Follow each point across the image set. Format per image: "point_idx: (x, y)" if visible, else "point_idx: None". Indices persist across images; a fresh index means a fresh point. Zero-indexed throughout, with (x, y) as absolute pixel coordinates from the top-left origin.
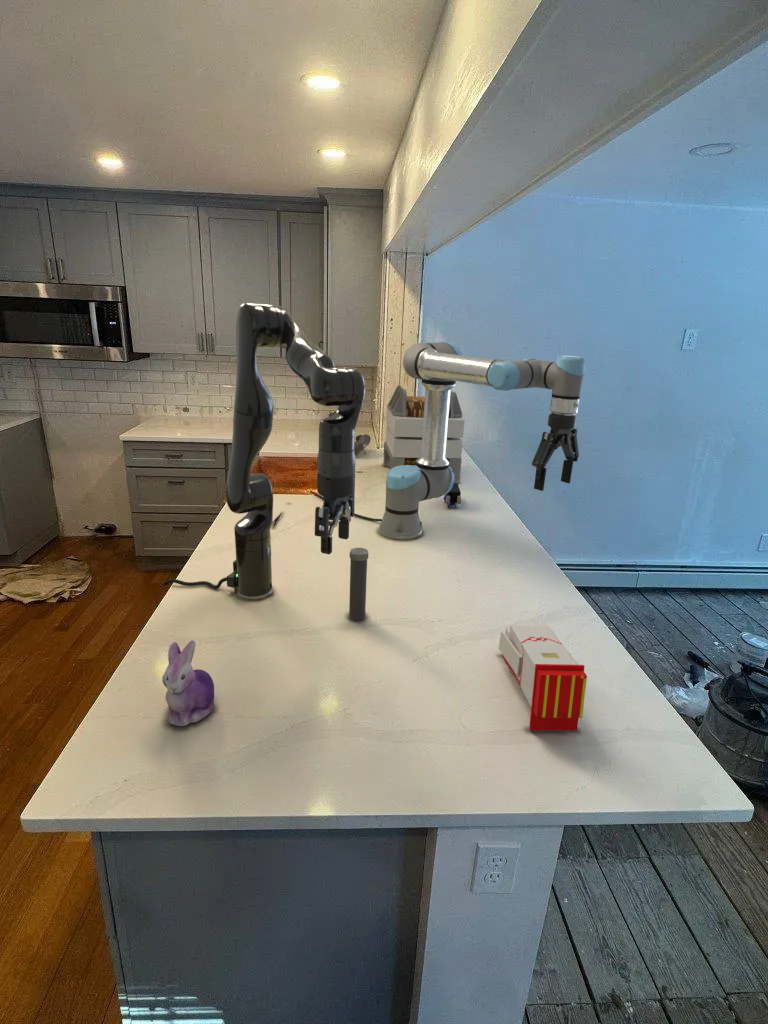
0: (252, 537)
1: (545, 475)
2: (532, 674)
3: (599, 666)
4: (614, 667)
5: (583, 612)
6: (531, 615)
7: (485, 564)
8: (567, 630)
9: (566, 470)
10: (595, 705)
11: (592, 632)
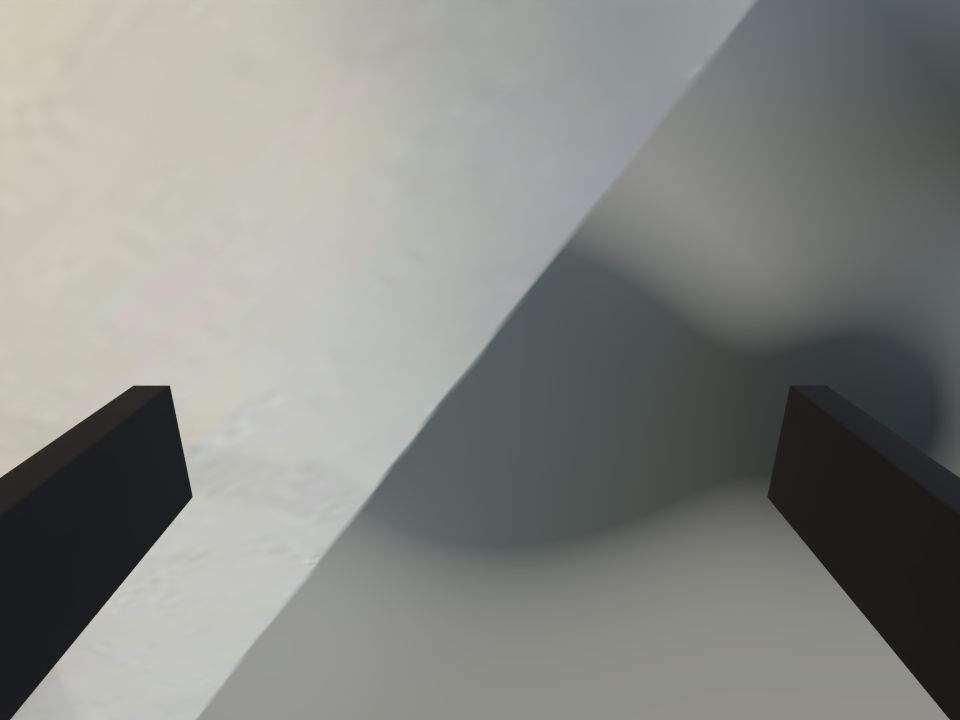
0: None
1: (50, 666)
2: None
3: (139, 662)
4: (171, 681)
5: (341, 515)
6: None
7: (323, 7)
8: (201, 541)
9: (894, 556)
10: None
11: (261, 584)
